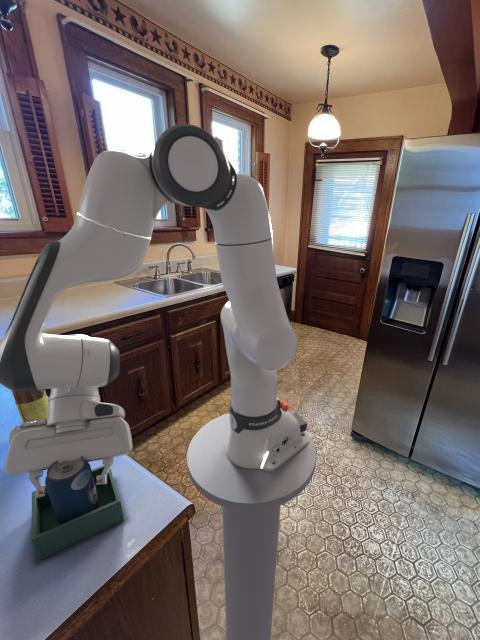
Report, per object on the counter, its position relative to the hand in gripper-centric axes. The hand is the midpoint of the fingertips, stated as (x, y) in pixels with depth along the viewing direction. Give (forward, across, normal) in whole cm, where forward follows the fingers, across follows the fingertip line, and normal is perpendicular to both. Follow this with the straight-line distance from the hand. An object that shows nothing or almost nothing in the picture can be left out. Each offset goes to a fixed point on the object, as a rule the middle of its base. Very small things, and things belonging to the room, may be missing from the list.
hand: (72, 490), depth 57 cm
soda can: (+4, 0, +5) cm, 7 cm away
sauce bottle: (-16, -15, +27) cm, 35 cm away
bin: (+5, 0, +6) cm, 7 cm away
